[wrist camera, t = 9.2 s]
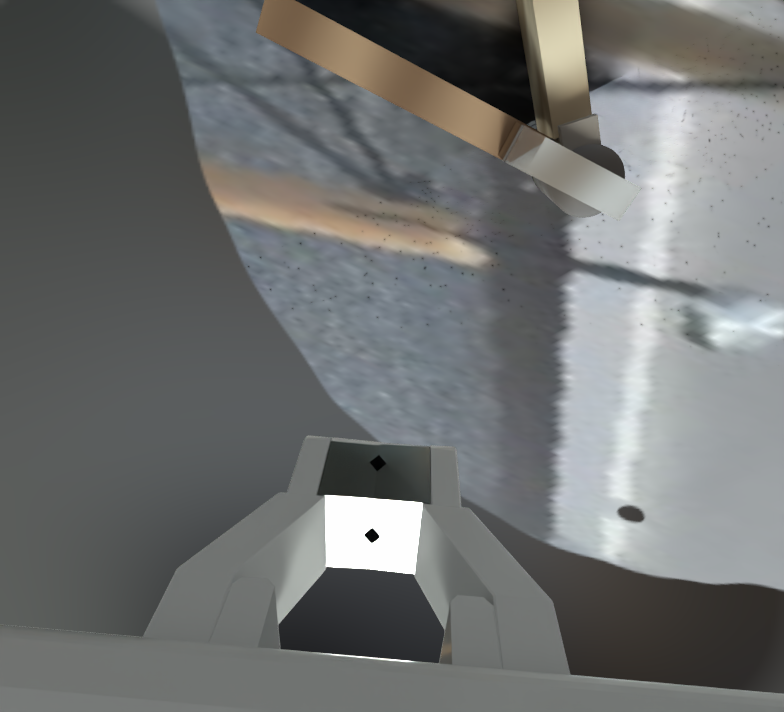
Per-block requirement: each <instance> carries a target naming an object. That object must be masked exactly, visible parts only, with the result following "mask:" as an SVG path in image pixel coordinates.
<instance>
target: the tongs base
mask: <svg viewBox="0 0 784 712" xmlns="http://www.w3.org/2000/svg"><path fill="white" fill-rule="evenodd" d="M516 5H517V11H518V17H519V22H520V28H521V34H522V40H523V46H524V52H525V58H526V64H527V70H528V76H529V82H530V88H531V94H532V100H533V106H534V112H535V117H536V123H537V129H538V131H539V132H541V133H543V134H545V135H547V136H549V137H550V140H552V141H554V142H556V143H558V144H560V145H562V146H564V147H565V148H567V149H569V150H571V151H573V152H575V153H577V154H578V155H580V156H582V157H584V158H586V159H588V160H590V161H591V162H593V163H595V164H597V165H599V166H601V167H603V168H605V169H606V170H608V171H610V172H612V173H614V174H616V175H618V176H619V177H621V178H623V179H625V171H624V166H623V163H622V161H621V159H620V157H619V156H618V155H617V154H616V152H614V151H613V150H612V149H610V148H608V147H606V146H603V145H601V141H600V132H599V123H598V115H596V114H592V113H591V104H590V96H589V88H588V79H587V71H586V63H585V54H584V46H583V38H582V29H581V21H580V13H579V4H578V0H516ZM532 179H533V181H534V183H535V185H536V186H537V187H538V188H539V189H540V190H541V191H542V192H543V193H544V194H545V195H546V196H548V197H549V198H550V199H551V200H552V201H553V202H554V203H555V204H556V205H557V206H558V207H559V208H561V209H562V210H563V211H564V212H565V213H567V214H569V215H571V216H574V217H580V218H585V217H591V216H595V215H597V214H599V213H601V211H599V210H597V209H595V208H593V207H591V206H589V205H587V204H585V203H583V202H581V201H579V200H577V199H575V198H574V197H572V196H570V195H568V194H566V193H564V192H562V191H560V190H558V189H556V188H554V187H552V186H550V185H548V184H546V183H545V182H543V181H541V180H539V179H537V178H535V177H533V176H532Z"/></svg>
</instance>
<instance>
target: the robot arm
mask: <svg viewBox="0 0 784 712" xmlns="http://www.w3.org/2000/svg"><path fill="white" fill-rule="evenodd" d="M326 566H328V567H346V568H364V569H370V567H371V569H377V570H385V571H393V572H403V573H412V574H415V575H414V576H415V578H416V580H417V582H418V583H419V585H420V587H421V589H422V591H423V592H424V594H425V596H426V598H427V599H428V601H429V603H430V605H431V606H432V608H433V610H434V612H435V613H436V615H437V617H438V619H439V621H440V622H441V624H442V626H443V628H444V630H445V634H444V639H443V645H442V650H441V656H440V662H439V664H438V663H427V662H416V661H405V660H394V659H382V658H371V657H360V656H348V655H338V654H326V653H315V652H304V651H292V650H282V649H280V641H279V629H278V624H279V623H280V622H281V621H282V620H283V618H284V617H285V616H286V615H287V614H288V613H289V611H290V610H291V609H292V608H293V607H294V605H295V604H296V603H297V602H298V601H299V600H300V599H301V598H302V596H303V595H304V594H305V593H306V592H307V590H308V589H309V588H310V587H311V586H312V585H313V583H314V582H315V581H316V580H317V579H318V578H319V576H320V575H321V574H322V573H323V572H324V571H325V569H326ZM0 712H784V694H779V693H767V692H756V691H745V690H733V689H721V688H711V687H700V686H689V685H677V684H666V683H655V682H644V681H632V680H621V679H609V678H598V677H588V676H576V675H570V672H569V667H568V663H567V659H566V655H565V651H564V646H563V642H562V638H561V634H560V630H559V626H558V621H557V617H556V613H555V609H554V605H553V601H552V600H551V599H550V598H549V597H548V596H547V595H546V593H545V592H544V591H543V590H542V589H541V588H540V587H539V586H538V585H537V583H536V582H535V581H534V580H533V579H532V578H531V577H530V576H529V574H527V572H526V571H525V570H524V569H523V568H522V567H521V566H520V564H519V563H518V562H517V561H516V560H515V559H514V558H513V557H512V555H511V554H510V553H509V552H508V551H507V550H506V549H505V548H504V547H503V546H502V544H501V543H500V542H499V541H498V540H497V539H496V538H495V537H494V535H493V534H492V533H491V532H490V531H489V530H488V529H487V528H486V526H485V525H484V524H483V523H482V522H481V521H480V520H479V519H478V518H477V516H476V515H475V514H474V513H473V512H472V511H471V510H470V508H464V507H461V496H460V485H459V473H458V462H457V450H456V449H455V447H448V446H430V447H429V446H421V445H408V444H394V443H381V442H372V441H362V440H352V439H342V438H329V437H319V436H307V437H306V438H305V439H304V442H303V445H302V448H301V451H300V454H299V457H298V460H297V463H296V466H295V469H294V472H293V475H292V478H291V482H290V485H289V488H288V491H287V493H278V494H276V495H275V496H274V497H272V498H271V499H270V500H268V501H267V502H266V503H264V504H263V505H262V506H260V507H259V508H258V509H256V510H255V511H254V512H252V513H251V514H250V515H248V516H247V517H246V518H244V519H243V520H242V521H240V522H239V523H238V524H236V525H235V526H234V527H232V528H231V529H229V530H228V531H227V532H225V533H224V534H223V535H221V536H220V537H219V538H217V539H216V540H215V541H213V542H212V543H211V544H209V545H208V546H207V547H205V548H204V549H203V550H201V551H200V552H199V553H197V554H196V555H195V556H193V557H192V558H191V559H189V560H188V561H187V562H185V563H184V564H183V565H181V566H180V567H178V568H177V570H176V572H175V574H174V576H173V578H172V580H171V582H170V584H169V586H168V588H167V590H166V592H165V594H164V596H163V598H162V600H161V602H160V604H159V606H158V608H157V610H156V612H155V614H154V615H153V617H152V620H151V622H150V624H149V625H148V627H147V630H146V632H145V633H144V636H143V637H134V636H124V635H113V634H112V635H111V634H100V633H90V632H79V631H67V630H55V629H45V628H33V627H22V626H11V625H0Z"/></svg>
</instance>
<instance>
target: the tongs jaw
mask: <svg viewBox="0 0 784 712" xmlns="http://www.w3.org/2000/svg"><path fill="white" fill-rule="evenodd" d="M256 33H258V34H260V35H262V36H264V37H266V38H268V39H270V40H271V41H273V42H275V43H277V44H279V45H281V46H283V47H285V48H287V49H289V50H291V51H293V52H295V53H297V54H299V55H300V56H302V57H304V58H306V59H308V60H310V61H312V62H314V63H316V64H318V65H320V66H322V67H324V68H326V69H328V70H329V71H331V72H333V73H335V74H337V75H339V76H341V77H343V78H345V79H347V80H349V81H351V82H353V83H355V84H357V85H358V86H360V87H362V88H364V89H366V90H368V91H370V92H372V93H374V94H376V95H378V96H380V97H382V98H384V99H386V100H387V101H389V102H391V103H393V104H395V105H397V106H399V107H401V108H403V109H405V110H407V111H409V112H411V113H413V114H415V115H416V116H418V117H420V118H422V119H424V120H426V121H428V122H430V123H432V124H434V125H436V126H438V127H440V128H442V129H443V130H445V131H447V132H449V133H451V134H453V135H455V136H457V137H459V138H461V139H463V140H465V141H467V142H469V143H471V144H472V145H474V146H476V147H478V148H480V149H482V150H484V151H486V152H488V153H490V154H492V155H494V156H496V157H498V158H500V159H501V160H503V161H504V162H506V163H508V164H510V165H512V166H514V167H516V168H517V169H519V170H521V171H523V172H525V173H527V174H529V175H531V176H533V177H535V178H537V179H539V180H541V181H543V182H545V183H546V184H548V185H550V186H552V187H554V188H556V189H558V190H560V191H562V192H564V193H566V194H568V195H570V196H572V197H574V198H575V199H577V200H579V201H581V202H583V203H585V204H587V205H589V206H591V207H593V208H595V209H597V210H599V211H601V212H603V213H605V214H606V215H608V216H610V217H612V218H614V219H616V220H618V221H620V219H621V218H622V216H623V215H624V213H625V212H626V211H627V209H628V208H629V206H630V205H631V203H632V202H633V200H634V199H635V197H636V196H637V195H638V193H639V192H640V190H641V189H642V188H640V187H638V186H636V185H634V184H633V183H631V182H629V181H627V180H625V179H623V178H621V177H619V176H618V175H616V174H614V173H612V172H610V171H608V170H606V169H605V168H603V167H601V166H599V165H597V164H595V163H593V162H591V161H590V160H588V159H586V158H584V157H582V156H580V155H578V154H577V153H575V152H573V151H571V150H569V149H567V148H565V147H564V146H562V145H560V144H558V143H556V142H554V141H552V140H550V137H549V136H547V135H545V134H543V133H541V132H539V131H537V130H536V129H534V128H532V127H530V126H528V125H526V124H524V123H523V122H521V121H519V120H517V119H515V118H513V117H511V116H510V115H508V114H506V113H504V112H502V111H500V110H498V109H496V108H495V107H493V106H491V105H489V104H487V103H485V102H483V101H482V100H480V99H478V98H476V97H474V96H472V95H470V94H469V93H467V92H465V91H463V90H461V89H459V88H457V87H455V86H454V85H452V84H450V83H448V82H446V81H444V80H442V79H441V78H439V77H437V76H435V75H433V74H431V73H429V72H428V71H426V70H424V69H422V68H420V67H418V66H416V65H414V64H413V63H411V62H409V61H407V60H405V59H403V58H401V57H400V56H398V55H396V54H394V53H392V52H390V51H388V50H387V49H385V48H383V47H381V46H379V45H377V44H375V43H374V42H372V41H370V40H368V39H366V38H364V37H362V36H360V35H359V34H357V33H355V32H353V31H351V30H349V29H347V28H346V27H344V26H342V25H340V24H338V23H336V22H334V21H333V20H331V19H329V18H327V17H325V16H323V15H321V14H319V13H318V12H316V11H314V10H312V9H310V8H308V7H306V6H305V5H303V4H301V3H299V2H297V1H295V0H265V1H264V4H263V8H262V12H261V15H260V19H259V23H258V26H257V30H256Z"/></svg>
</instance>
